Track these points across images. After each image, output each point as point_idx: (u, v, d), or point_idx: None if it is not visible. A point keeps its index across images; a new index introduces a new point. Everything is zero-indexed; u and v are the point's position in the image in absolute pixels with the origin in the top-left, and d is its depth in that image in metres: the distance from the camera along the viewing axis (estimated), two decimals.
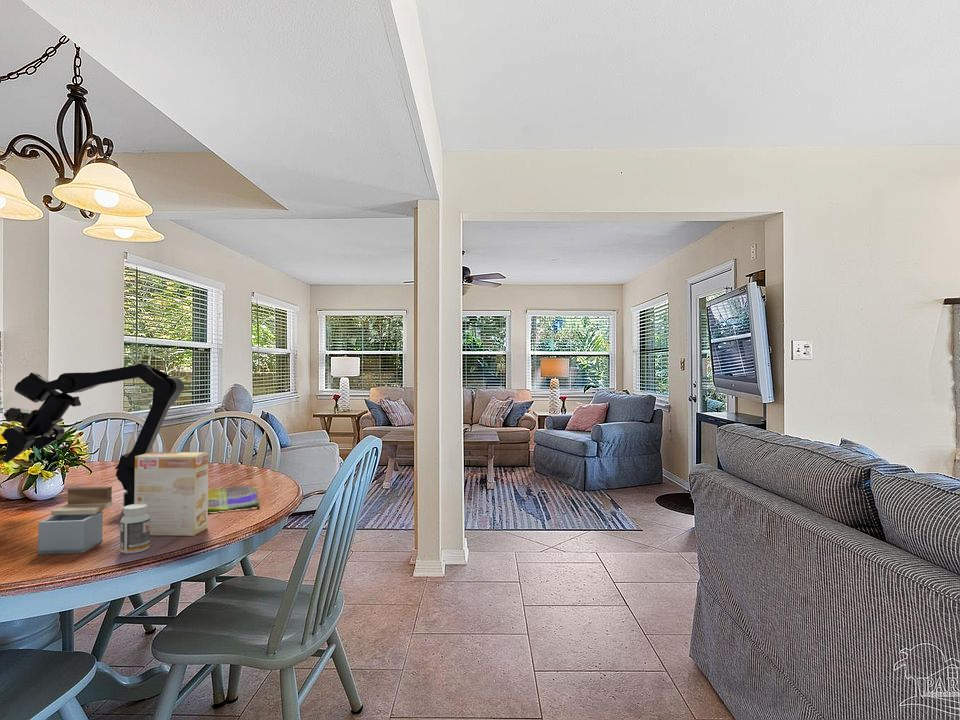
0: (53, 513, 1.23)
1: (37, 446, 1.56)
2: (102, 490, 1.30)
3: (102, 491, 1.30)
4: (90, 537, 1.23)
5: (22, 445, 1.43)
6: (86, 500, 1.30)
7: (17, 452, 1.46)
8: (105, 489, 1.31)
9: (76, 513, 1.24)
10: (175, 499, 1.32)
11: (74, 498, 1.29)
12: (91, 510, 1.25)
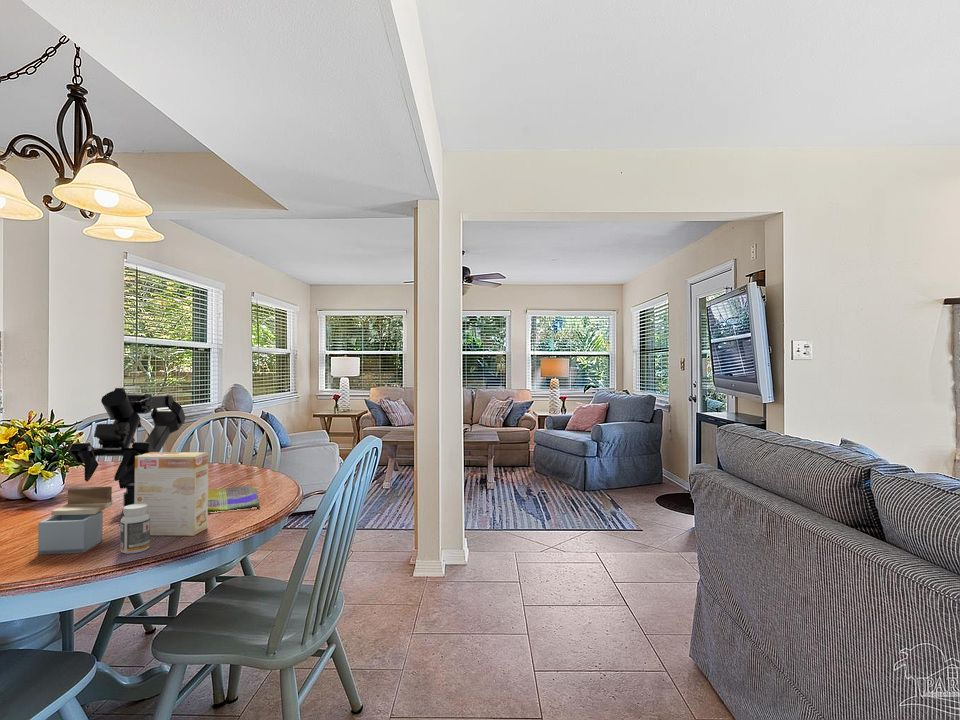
0: (53, 513, 1.23)
1: (92, 469, 1.38)
2: (102, 490, 1.30)
3: (102, 491, 1.30)
4: (90, 537, 1.23)
5: None
6: (86, 500, 1.30)
7: (129, 469, 1.41)
8: (105, 489, 1.31)
9: (76, 513, 1.24)
10: (175, 499, 1.32)
11: (74, 498, 1.29)
12: (91, 510, 1.25)
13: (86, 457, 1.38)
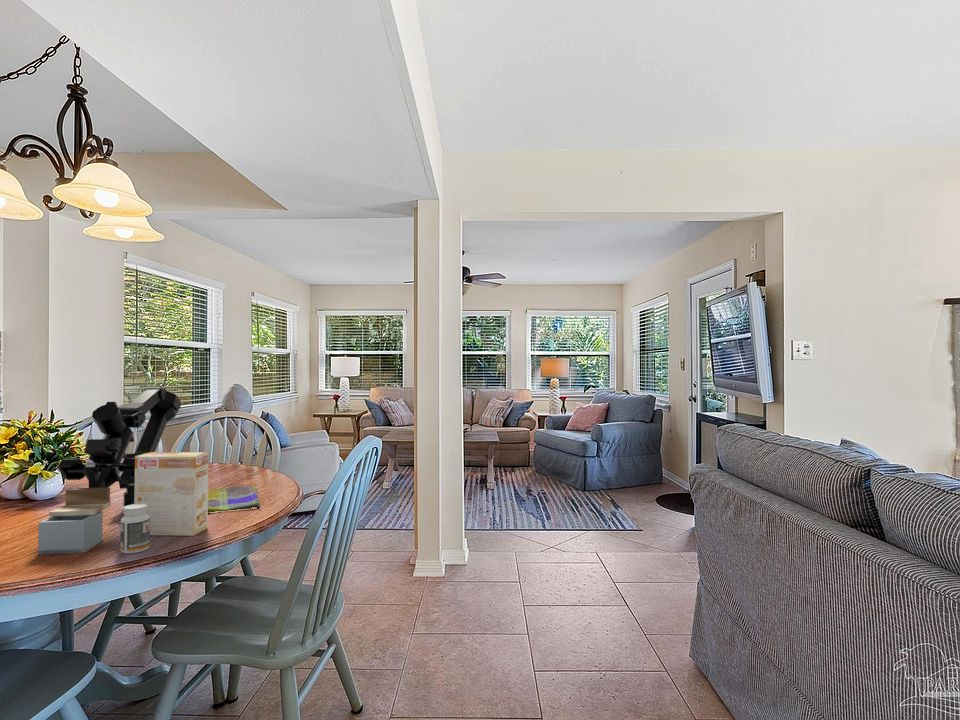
0: (51, 514, 1.23)
1: None
2: (100, 491, 1.30)
3: (100, 492, 1.30)
4: (90, 537, 1.23)
5: None
6: (84, 501, 1.29)
7: (107, 486, 1.36)
8: (103, 490, 1.30)
9: (74, 514, 1.23)
10: (175, 499, 1.32)
11: (72, 499, 1.29)
12: (89, 511, 1.24)
13: (90, 473, 1.34)
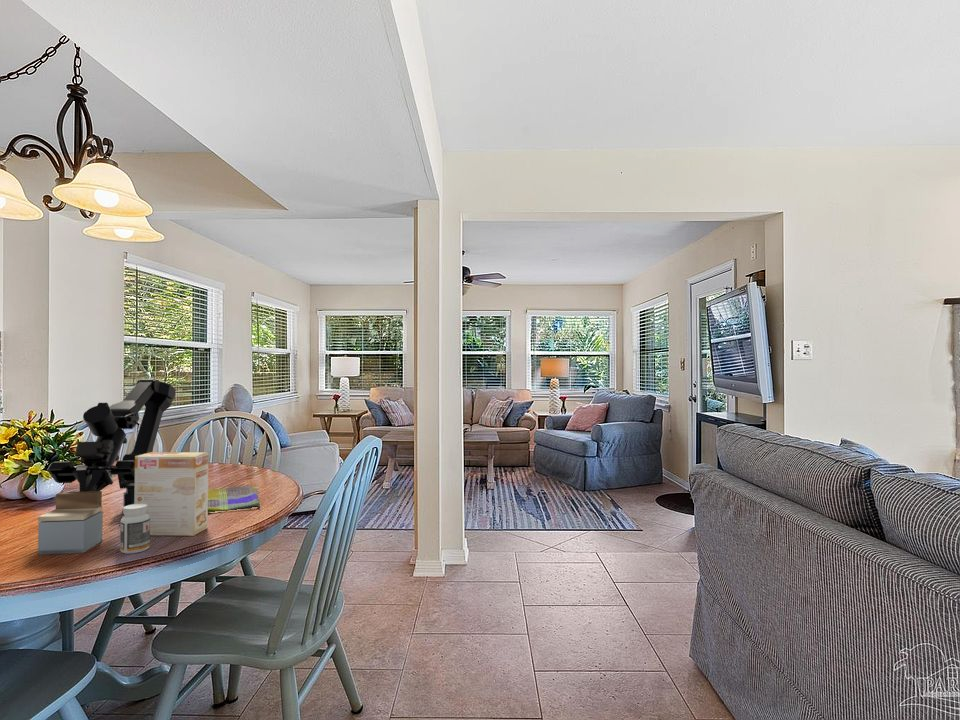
0: (40, 519, 1.19)
1: None
2: (91, 495, 1.26)
3: (91, 496, 1.26)
4: (90, 537, 1.23)
5: None
6: (75, 505, 1.25)
7: (99, 489, 1.32)
8: (95, 494, 1.26)
9: (64, 519, 1.19)
10: (175, 499, 1.32)
11: (63, 503, 1.25)
12: (80, 516, 1.20)
13: (81, 477, 1.30)
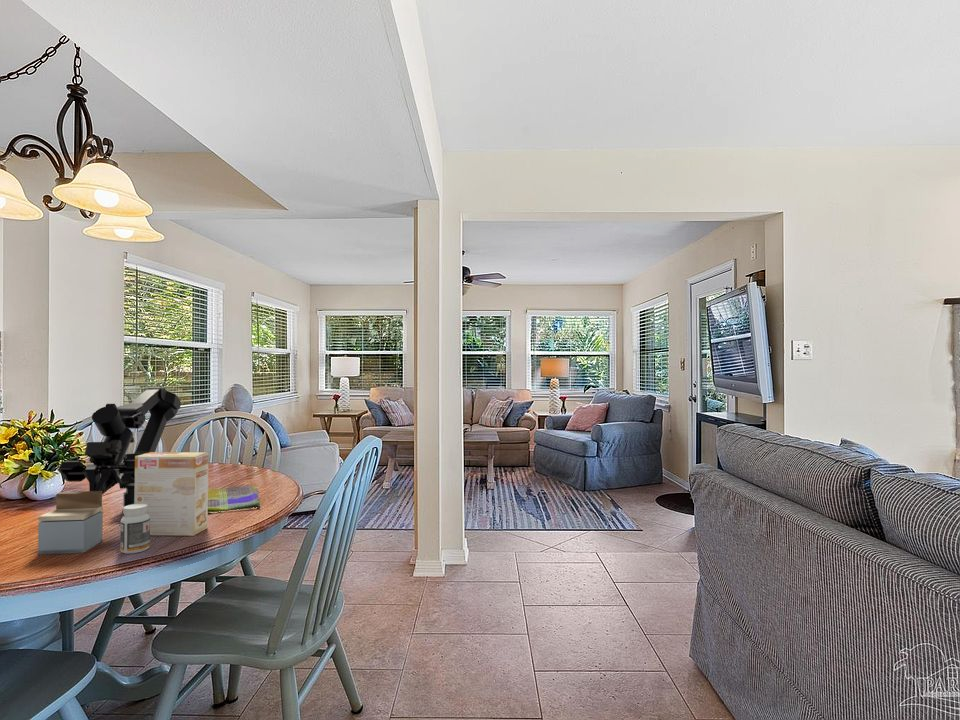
0: (40, 519, 1.19)
1: None
2: (91, 495, 1.26)
3: (92, 496, 1.26)
4: (90, 537, 1.23)
5: None
6: (75, 505, 1.25)
7: (108, 488, 1.36)
8: (95, 493, 1.26)
9: (65, 519, 1.20)
10: (175, 499, 1.32)
11: (63, 503, 1.25)
12: (80, 515, 1.20)
13: (90, 476, 1.34)
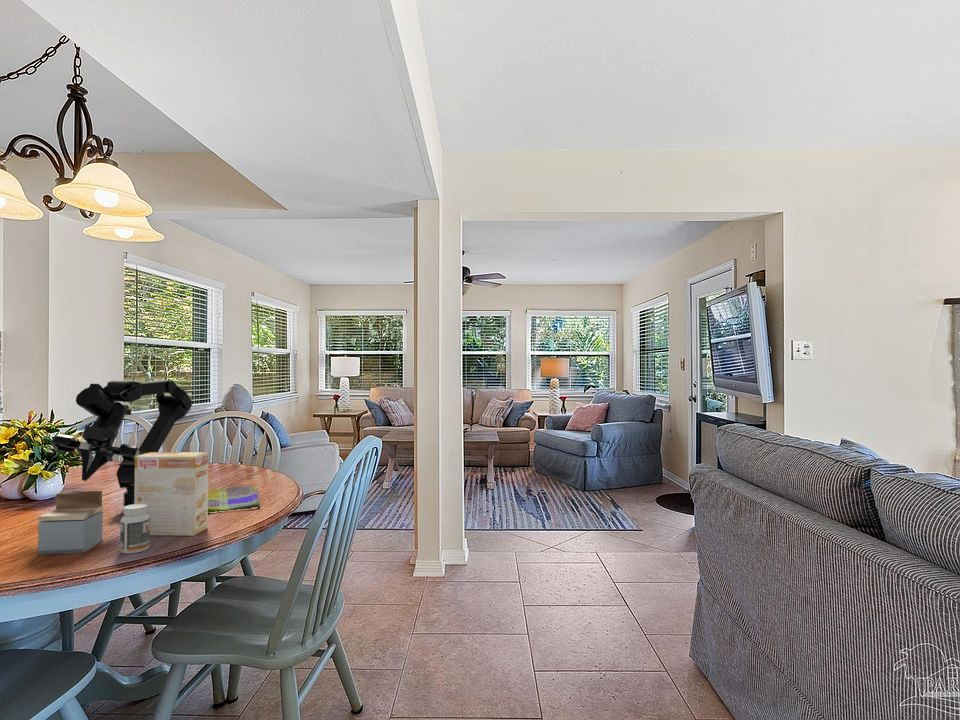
0: (40, 519, 1.19)
1: (89, 467, 1.39)
2: (91, 495, 1.26)
3: (92, 496, 1.26)
4: (90, 537, 1.23)
5: None
6: (75, 505, 1.25)
7: (99, 467, 1.40)
8: (95, 493, 1.26)
9: (65, 519, 1.20)
10: (175, 499, 1.32)
11: (63, 503, 1.25)
12: (80, 515, 1.20)
13: (84, 455, 1.37)
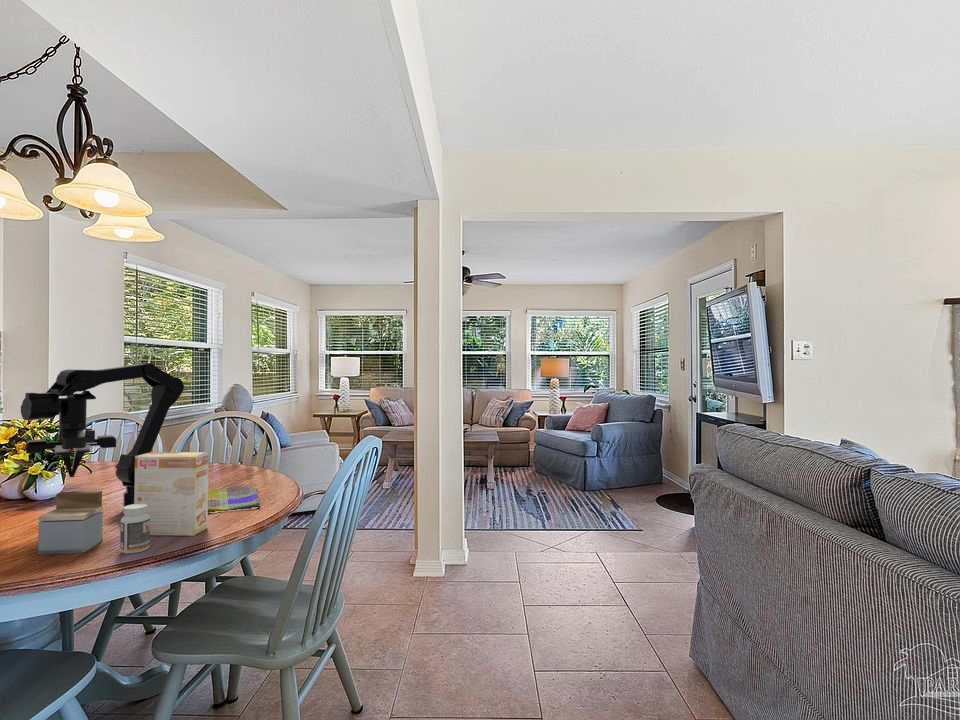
0: (40, 519, 1.19)
1: None
2: (91, 495, 1.26)
3: (92, 496, 1.26)
4: (90, 537, 1.23)
5: None
6: (75, 505, 1.25)
7: None
8: (95, 493, 1.26)
9: (65, 519, 1.20)
10: (175, 499, 1.32)
11: (63, 503, 1.25)
12: (80, 515, 1.20)
13: (64, 456, 1.40)
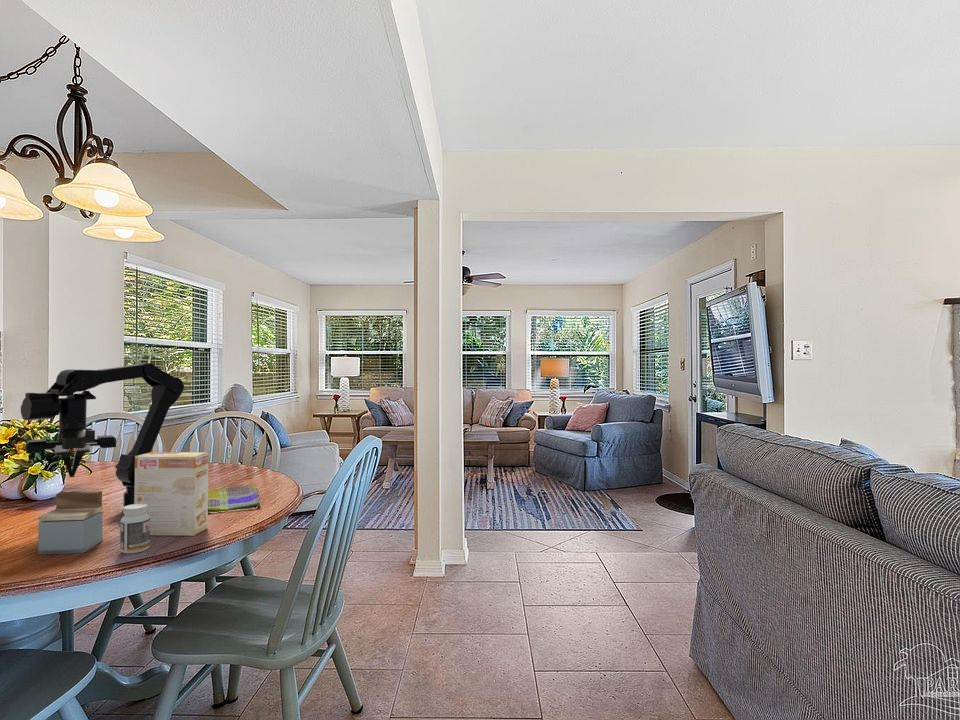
0: (40, 519, 1.19)
1: None
2: (91, 495, 1.26)
3: (92, 496, 1.26)
4: (90, 537, 1.23)
5: None
6: (75, 505, 1.25)
7: None
8: (95, 493, 1.26)
9: (65, 519, 1.20)
10: (175, 499, 1.32)
11: (63, 503, 1.25)
12: (80, 515, 1.20)
13: (64, 456, 1.40)
